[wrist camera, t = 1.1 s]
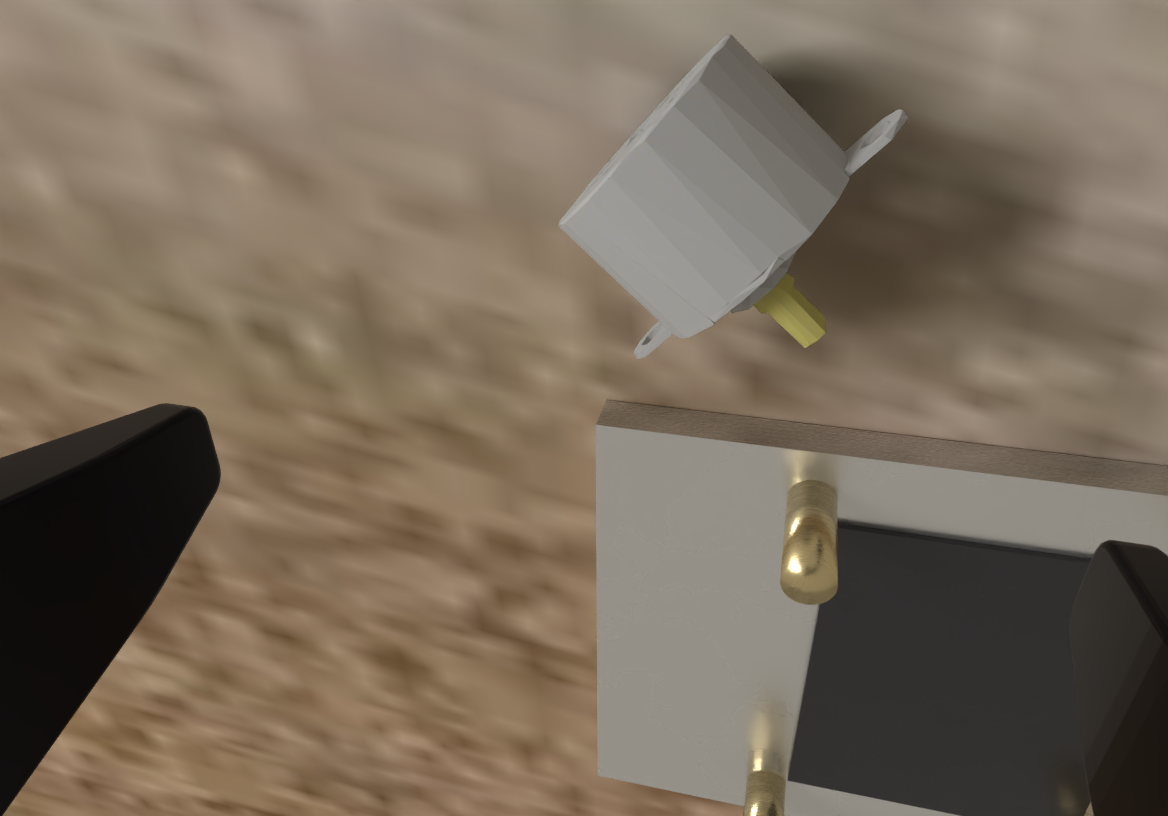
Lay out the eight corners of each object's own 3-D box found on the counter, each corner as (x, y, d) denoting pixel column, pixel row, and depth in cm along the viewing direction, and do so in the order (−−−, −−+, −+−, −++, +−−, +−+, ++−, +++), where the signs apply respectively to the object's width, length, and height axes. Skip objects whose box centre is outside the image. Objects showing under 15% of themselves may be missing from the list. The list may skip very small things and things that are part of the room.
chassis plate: (1529, 509, 18) (1690, 659, 15) (1262, 878, 26) (1328, 1035, 22) (606, 399, 23) (564, 498, 19) (605, 745, 30) (575, 860, 27)
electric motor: (708, 346, 21) (677, 465, 17) (562, 210, 20) (491, 301, 16) (953, 140, 17) (989, 228, 13) (787, -39, 16) (770, -4, 12)
